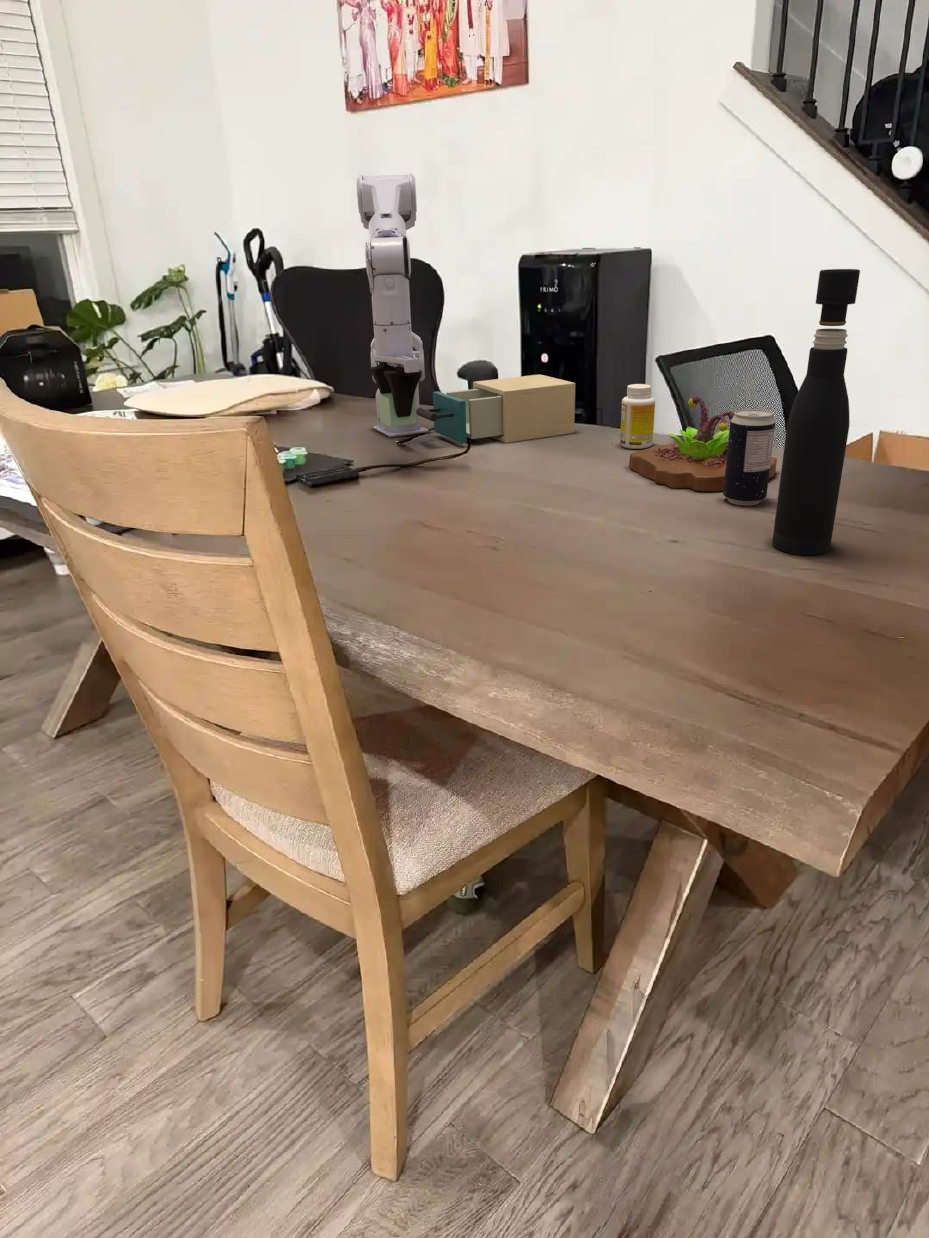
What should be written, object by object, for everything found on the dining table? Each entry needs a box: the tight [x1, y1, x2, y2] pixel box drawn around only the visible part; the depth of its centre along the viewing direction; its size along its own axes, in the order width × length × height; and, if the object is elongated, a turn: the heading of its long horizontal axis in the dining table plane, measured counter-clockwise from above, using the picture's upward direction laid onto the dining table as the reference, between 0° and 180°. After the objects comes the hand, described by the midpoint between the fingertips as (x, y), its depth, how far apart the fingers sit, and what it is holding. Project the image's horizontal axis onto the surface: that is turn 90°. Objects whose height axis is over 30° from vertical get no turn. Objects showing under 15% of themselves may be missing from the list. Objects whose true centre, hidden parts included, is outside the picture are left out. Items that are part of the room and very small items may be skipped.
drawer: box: [416, 388, 503, 444], centre depth 153 cm, size 18×11×7 cm, turn 116°
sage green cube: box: [379, 393, 416, 427], centre depth 134 cm, size 4×4×4 cm
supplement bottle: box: [619, 383, 656, 450], centre depth 144 cm, size 6×6×10 cm
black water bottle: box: [771, 268, 861, 556], centre depth 93 cm, size 6×6×30 cm
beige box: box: [472, 374, 576, 444], centre depth 158 cm, size 15×13×9 cm
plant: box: [628, 396, 778, 492], centre depth 128 cm, size 20×20×11 cm
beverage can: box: [722, 408, 776, 506], centre depth 113 cm, size 6×6×12 cm
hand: (398, 414), depth 134 cm, fingers closed on sage green cube, 4 cm apart
